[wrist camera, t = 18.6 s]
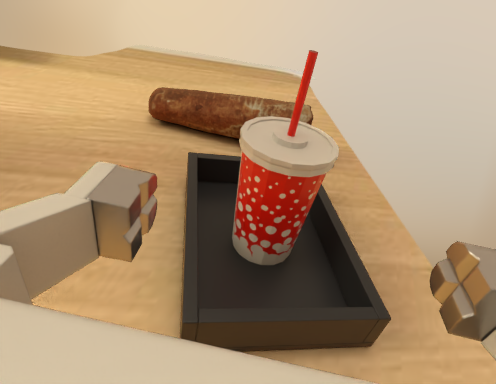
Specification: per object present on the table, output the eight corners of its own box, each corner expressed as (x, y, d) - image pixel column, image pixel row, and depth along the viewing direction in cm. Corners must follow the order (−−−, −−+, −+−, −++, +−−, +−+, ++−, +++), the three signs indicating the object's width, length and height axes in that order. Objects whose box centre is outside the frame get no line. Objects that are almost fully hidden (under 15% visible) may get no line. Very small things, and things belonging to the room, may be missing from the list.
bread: (300, 163, 37) (314, 117, 34) (140, 124, 38) (139, 76, 35) (303, 139, 42) (315, 97, 39) (162, 105, 43) (162, 62, 40)
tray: (179, 354, 18) (182, 323, 16) (186, 179, 31) (188, 151, 29) (371, 346, 20) (392, 319, 18) (302, 187, 33) (310, 162, 32)
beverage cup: (303, 280, 23) (387, 80, 15) (216, 266, 23) (252, 54, 14) (298, 222, 28) (358, 49, 20) (226, 210, 27) (258, 29, 19)
